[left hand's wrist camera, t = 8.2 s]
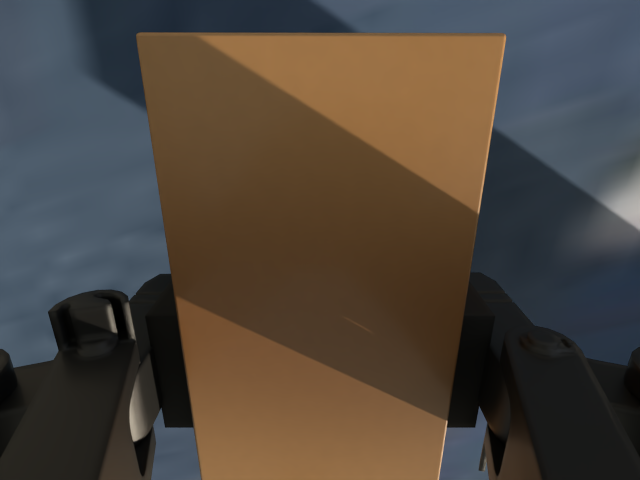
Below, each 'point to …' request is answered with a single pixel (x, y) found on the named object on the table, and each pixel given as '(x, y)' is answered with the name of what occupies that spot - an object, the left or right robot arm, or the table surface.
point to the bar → (320, 240)
